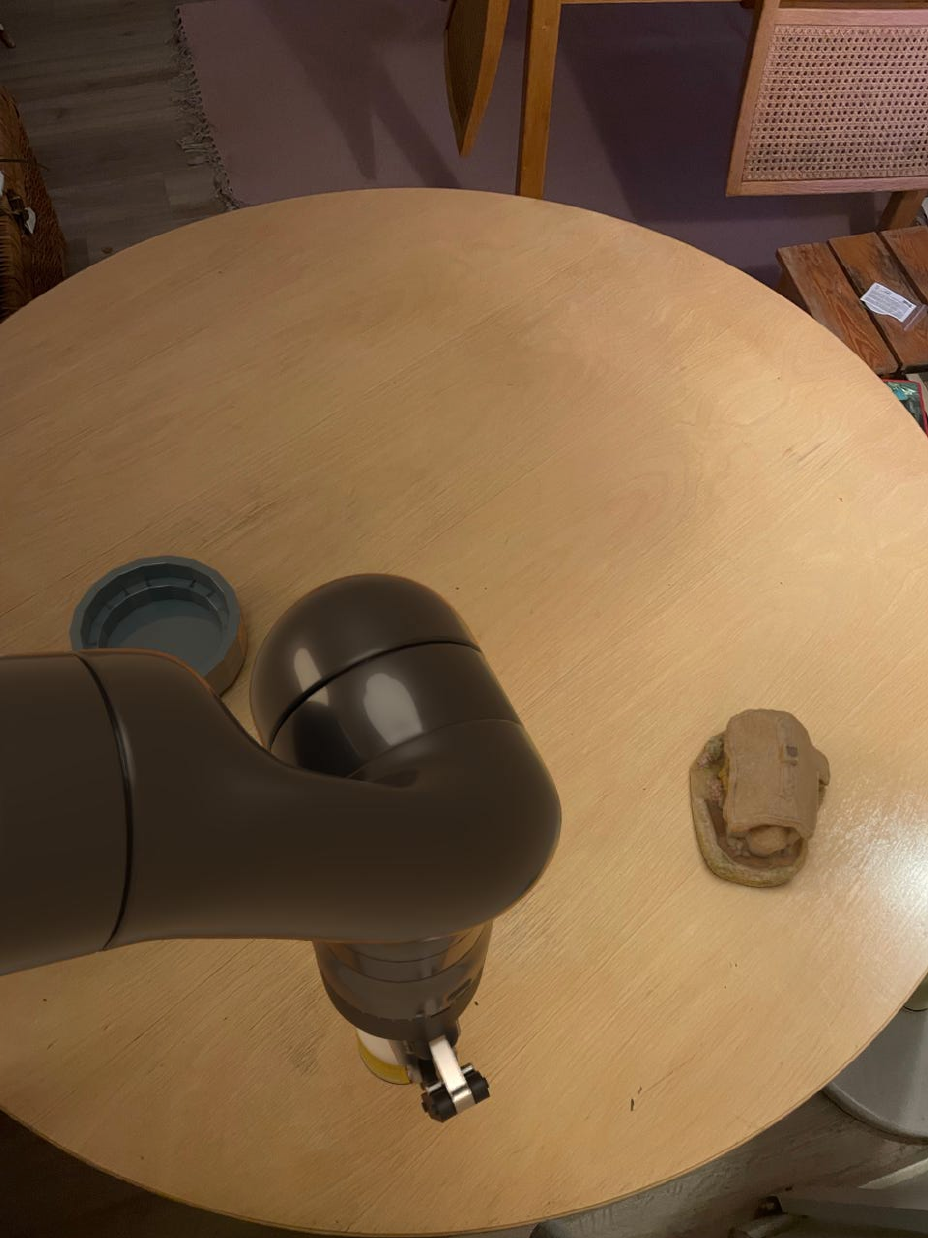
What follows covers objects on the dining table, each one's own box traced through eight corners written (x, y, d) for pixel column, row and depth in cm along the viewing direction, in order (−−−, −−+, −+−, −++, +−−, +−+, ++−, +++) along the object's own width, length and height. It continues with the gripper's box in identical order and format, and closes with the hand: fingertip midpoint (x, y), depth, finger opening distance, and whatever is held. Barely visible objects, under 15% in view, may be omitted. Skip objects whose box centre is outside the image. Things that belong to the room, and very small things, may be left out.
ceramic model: (691, 719, 89) (720, 659, 81) (822, 742, 88) (865, 683, 80) (682, 876, 81) (713, 828, 73) (825, 902, 81) (873, 856, 72)
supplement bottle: (415, 1107, 60) (417, 1075, 52) (339, 1053, 62) (329, 1014, 54) (465, 1024, 63) (474, 982, 55) (391, 975, 64) (389, 926, 56)
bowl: (101, 744, 86) (85, 716, 81) (74, 611, 93) (58, 578, 88) (264, 696, 89) (257, 667, 84) (226, 571, 96) (218, 537, 91)
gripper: (256, 817, 46) (291, 932, 60) (392, 1138, 39) (395, 1183, 53) (409, 751, 48) (408, 877, 62) (563, 1045, 41) (523, 1111, 55)
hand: (402, 1018), depth 58 cm, fingers closed on supplement bottle, 5 cm apart
